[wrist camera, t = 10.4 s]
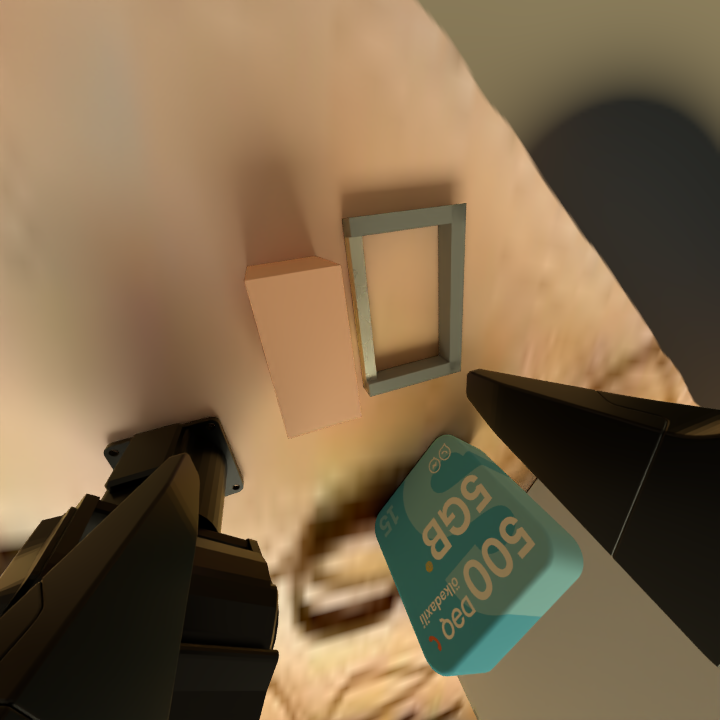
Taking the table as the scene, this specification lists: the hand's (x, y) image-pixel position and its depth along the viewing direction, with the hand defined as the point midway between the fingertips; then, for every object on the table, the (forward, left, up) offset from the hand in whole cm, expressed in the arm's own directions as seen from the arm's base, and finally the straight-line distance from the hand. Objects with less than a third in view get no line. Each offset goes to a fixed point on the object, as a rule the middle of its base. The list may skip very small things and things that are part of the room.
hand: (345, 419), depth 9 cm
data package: (-18, -8, -11) cm, 23 cm away
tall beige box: (0, 0, -11) cm, 11 cm away
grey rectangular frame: (0, -7, -11) cm, 13 cm away
